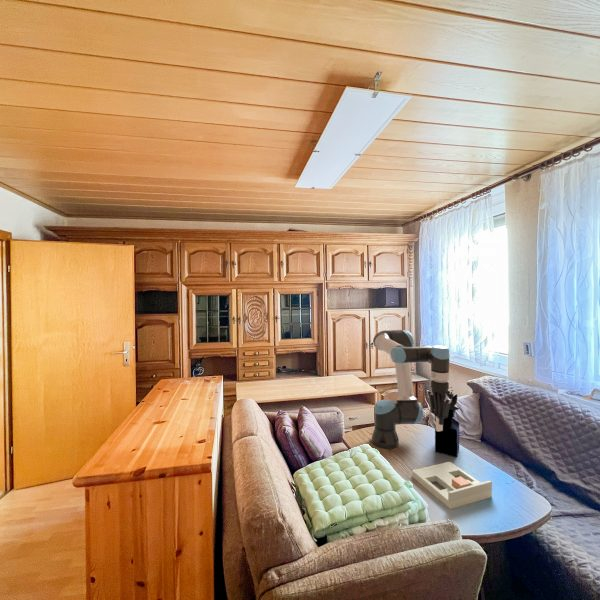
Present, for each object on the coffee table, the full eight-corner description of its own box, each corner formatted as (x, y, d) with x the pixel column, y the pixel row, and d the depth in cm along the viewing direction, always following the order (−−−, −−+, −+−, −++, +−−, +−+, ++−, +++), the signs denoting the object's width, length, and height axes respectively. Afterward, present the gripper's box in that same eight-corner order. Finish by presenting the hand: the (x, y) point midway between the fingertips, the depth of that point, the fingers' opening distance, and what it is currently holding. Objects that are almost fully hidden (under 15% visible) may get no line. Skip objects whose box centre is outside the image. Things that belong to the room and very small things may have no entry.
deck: (412, 476, 145) (412, 462, 145) (449, 467, 152) (449, 454, 152) (450, 509, 124) (450, 493, 123) (491, 496, 131) (491, 481, 130)
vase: (428, 451, 168) (428, 387, 167) (432, 442, 177) (432, 381, 176) (458, 458, 160) (458, 391, 159) (460, 449, 170) (460, 385, 169)
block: (451, 485, 134) (451, 478, 134) (460, 483, 135) (460, 476, 135) (461, 492, 129) (461, 485, 129) (470, 490, 131) (470, 483, 130)
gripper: (423, 377, 147) (422, 425, 148) (444, 385, 134) (443, 438, 136) (435, 375, 149) (435, 423, 150) (457, 383, 137) (456, 435, 138)
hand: (439, 430), depth 143 cm, fingers closed
